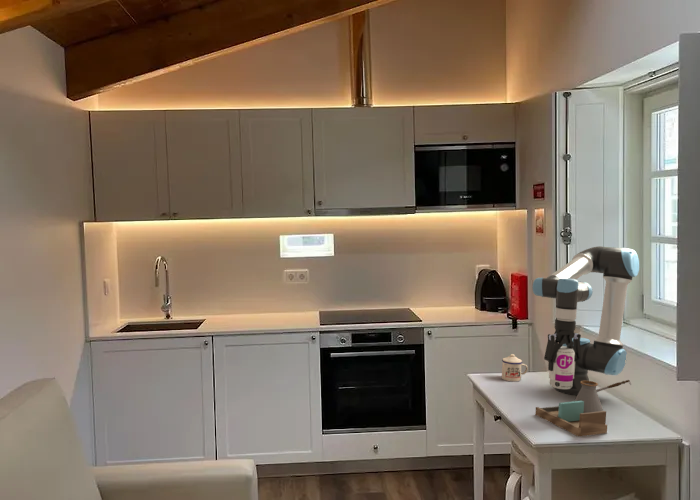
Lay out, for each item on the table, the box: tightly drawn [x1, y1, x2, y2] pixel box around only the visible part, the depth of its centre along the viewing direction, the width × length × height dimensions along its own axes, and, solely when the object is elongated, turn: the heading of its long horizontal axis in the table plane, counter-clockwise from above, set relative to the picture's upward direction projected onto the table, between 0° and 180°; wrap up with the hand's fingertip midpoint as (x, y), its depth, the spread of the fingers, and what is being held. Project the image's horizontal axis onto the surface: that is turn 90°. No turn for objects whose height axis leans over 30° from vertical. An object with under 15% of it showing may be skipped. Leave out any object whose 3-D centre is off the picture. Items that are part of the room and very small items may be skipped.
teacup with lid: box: [501, 353, 529, 382], centre depth 301 cm, size 12×9×12 cm
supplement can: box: [549, 346, 575, 389], centre depth 246 cm, size 8×8×15 cm
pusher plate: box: [558, 400, 584, 422], centre depth 242 cm, size 2×10×7 cm, turn 111°
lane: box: [534, 405, 608, 437], centre depth 242 cm, size 24×13×8 cm, turn 21°
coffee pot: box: [574, 379, 632, 413], centre depth 252 cm, size 21×12×15 cm, turn 83°
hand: (561, 378), depth 246 cm, fingers closed on supplement can, 8 cm apart
